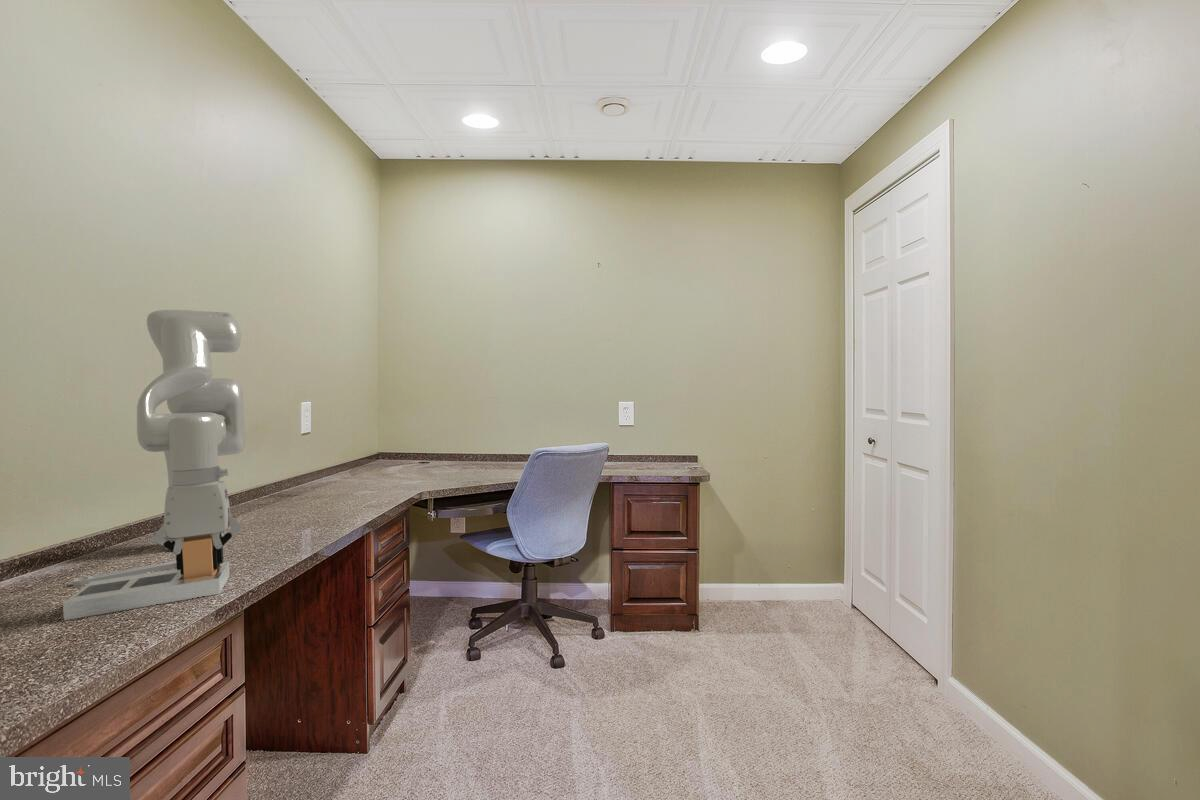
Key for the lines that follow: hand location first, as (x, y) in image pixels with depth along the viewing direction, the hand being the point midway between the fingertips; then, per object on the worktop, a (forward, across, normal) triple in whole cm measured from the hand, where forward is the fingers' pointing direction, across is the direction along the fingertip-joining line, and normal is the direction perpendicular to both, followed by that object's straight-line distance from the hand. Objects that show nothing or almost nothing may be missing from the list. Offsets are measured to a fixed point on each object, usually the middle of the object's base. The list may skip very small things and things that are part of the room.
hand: (200, 569), depth 106 cm
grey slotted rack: (+4, +12, -20) cm, 24 cm away
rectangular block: (+2, 0, 0) cm, 2 cm away
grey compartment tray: (+4, +7, 0) cm, 8 cm away
